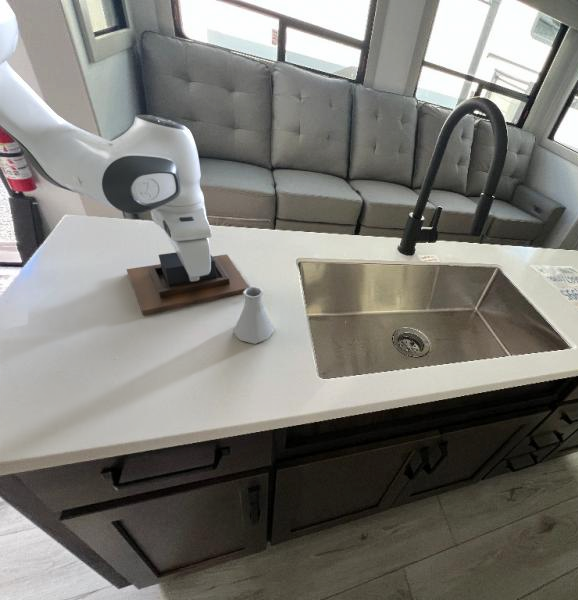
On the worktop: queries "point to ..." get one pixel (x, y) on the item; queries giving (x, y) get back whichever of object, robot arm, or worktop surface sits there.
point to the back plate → (184, 287)
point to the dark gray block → (181, 270)
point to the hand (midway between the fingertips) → (189, 270)
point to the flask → (253, 318)
